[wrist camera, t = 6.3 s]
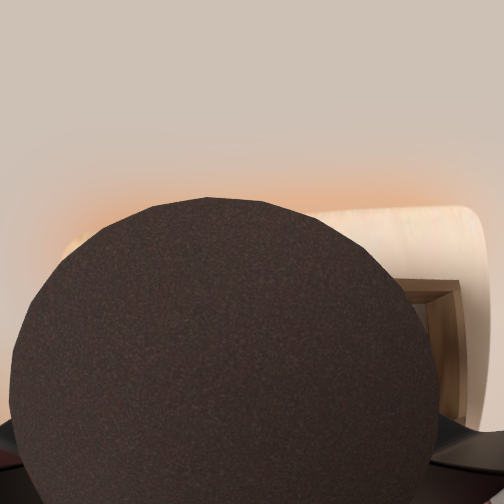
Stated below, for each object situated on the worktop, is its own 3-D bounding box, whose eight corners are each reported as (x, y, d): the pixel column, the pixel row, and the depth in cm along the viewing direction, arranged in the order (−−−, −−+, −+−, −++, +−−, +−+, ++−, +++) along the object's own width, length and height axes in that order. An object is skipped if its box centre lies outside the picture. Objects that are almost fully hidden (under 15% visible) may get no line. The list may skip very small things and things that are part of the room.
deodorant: (163, 406, 16) (-26, 450, 2) (206, 325, 18) (142, 147, 4) (251, 448, 15) (317, 620, 1) (292, 365, 17) (474, 300, 4)
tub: (436, 423, 16) (465, 426, 13) (307, 446, 16) (323, 459, 13) (432, 293, 20) (458, 280, 17) (310, 292, 20) (325, 275, 17)
